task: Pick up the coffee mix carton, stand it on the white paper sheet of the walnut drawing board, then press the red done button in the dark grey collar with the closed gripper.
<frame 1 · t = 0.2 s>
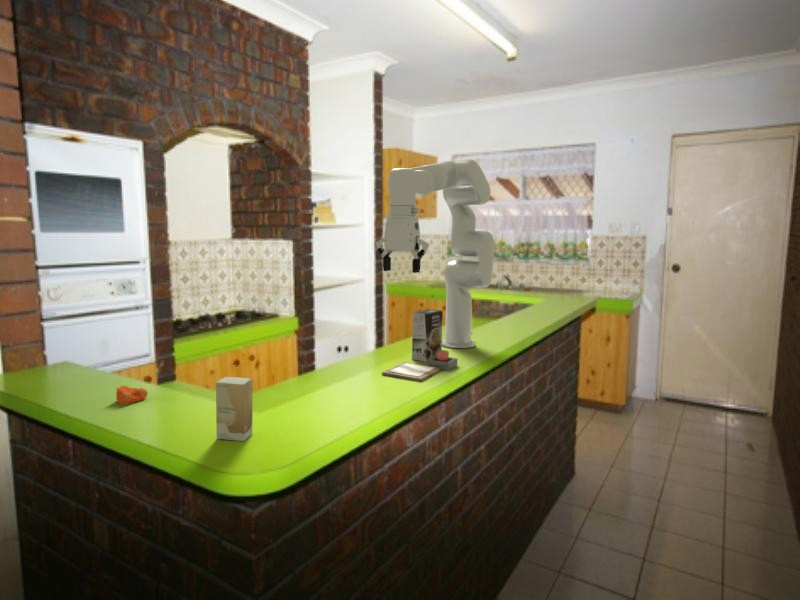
hand: (401, 271, 154), 31 cm above the table, tool pointing down, fingers open, 9 cm apart
done button: (442, 356, 166), point 3 cm above the table, slide at 0.0 cm
rock: (132, 403, 131), on the table
coffee box: (426, 358, 176), on the table
board: (412, 372, 159), on the table
skincare box: (235, 437, 110), on the table
button collar: (442, 366, 166), on the table
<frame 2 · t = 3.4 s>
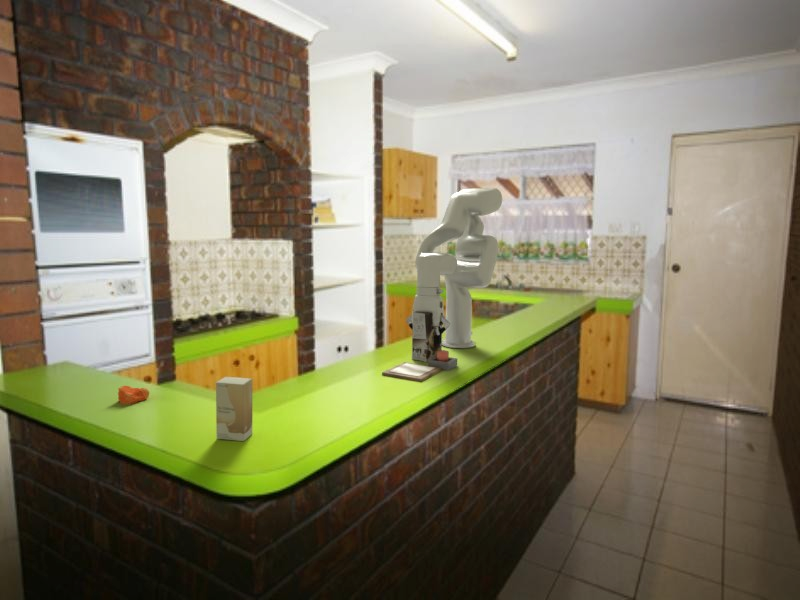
hand: (427, 344, 176), 5 cm above the table, tool pointing down, fingers closed on coffee box, 6 cm apart
coffee box: (426, 358, 176), on the table, touching gripper
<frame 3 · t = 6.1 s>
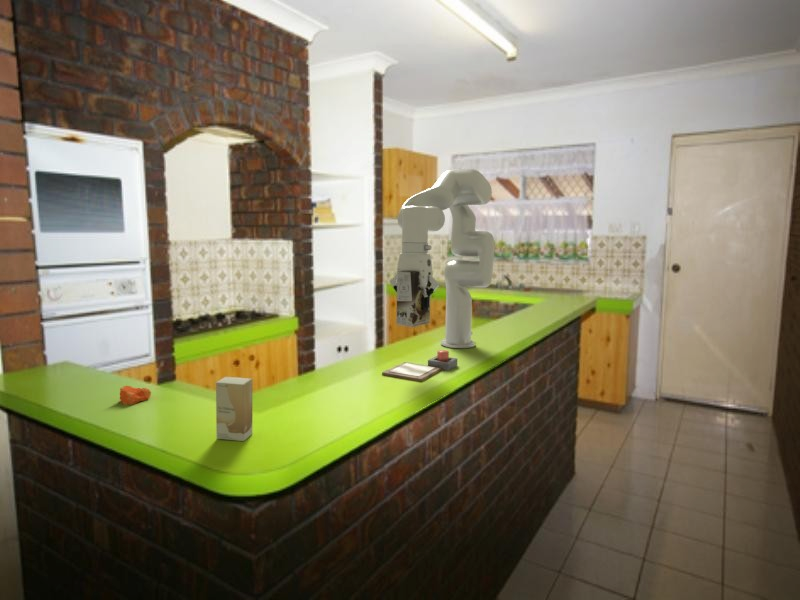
hand: (413, 308, 156), 20 cm above the table, tool pointing down, fingers closed on coffee box, 6 cm apart
coffee box: (413, 324, 157), point 15 cm above the table, touching gripper
when the fingers open (7 cm above the table, at t = 8.9 s): coffee box drops 1 cm, resting on board.
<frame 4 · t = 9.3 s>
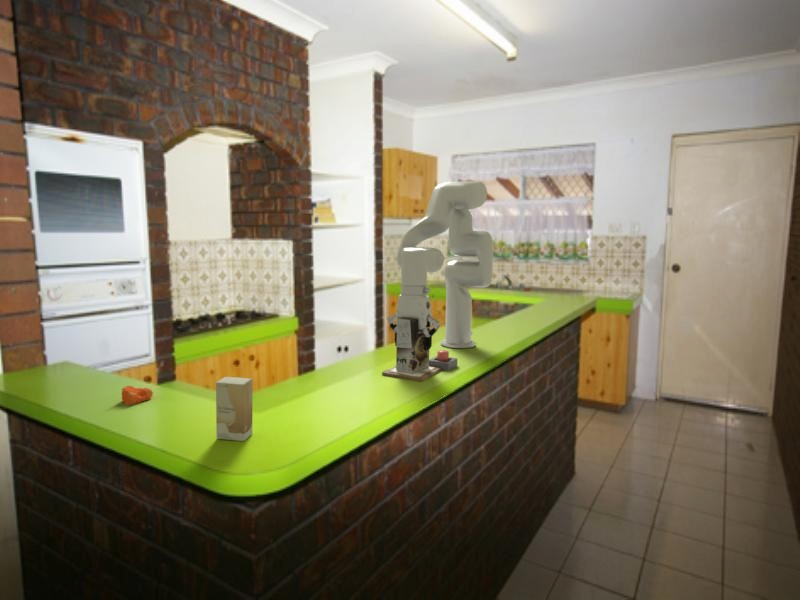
hand: (412, 347, 158), 8 cm above the table, tool pointing down, fingers open, 9 cm apart
coffee box: (412, 369, 159), point 1 cm above the table, touching board
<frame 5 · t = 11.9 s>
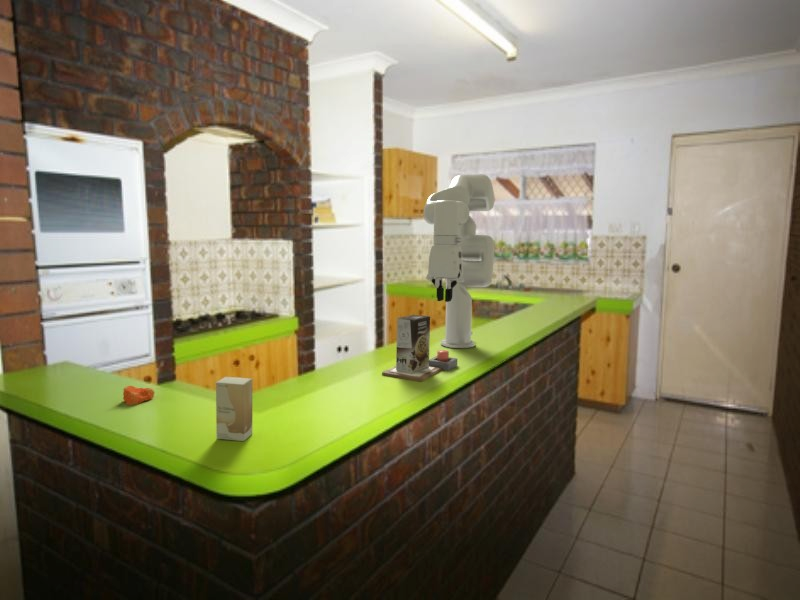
hand: (444, 300, 163), 21 cm above the table, tool pointing down, fingers closed
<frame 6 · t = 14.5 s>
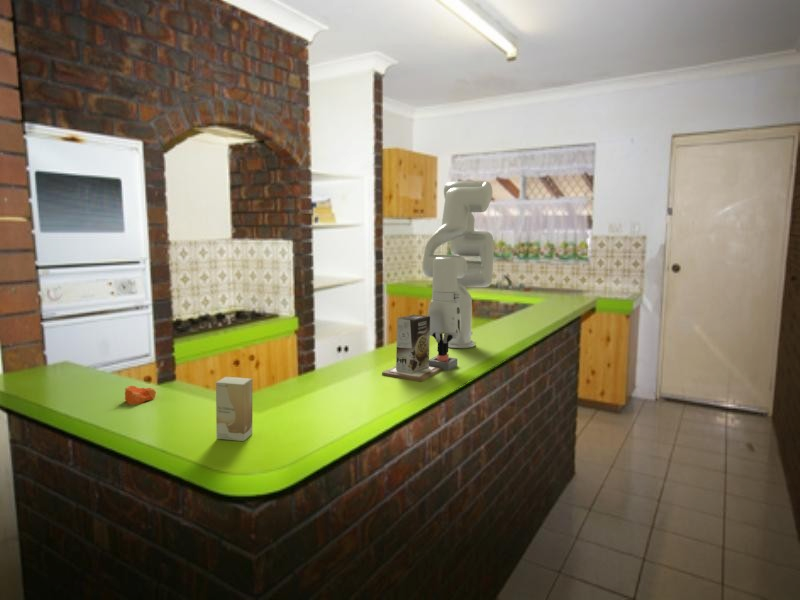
hand: (442, 354, 165), 4 cm above the table, tool pointing down, fingers closed
done button: (442, 359, 166), point 2 cm above the table, slide at 1.0 cm, touching gripper
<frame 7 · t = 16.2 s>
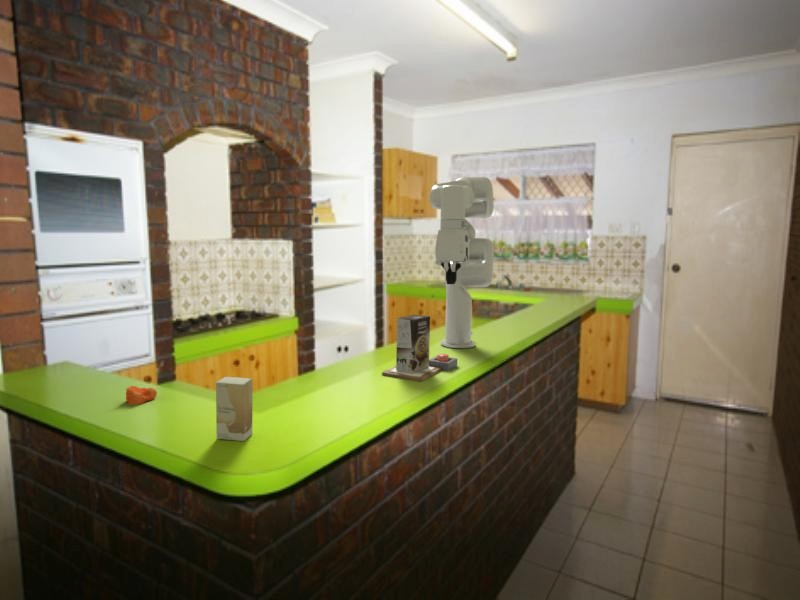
hand: (451, 283, 167), 26 cm above the table, tool pointing down, fingers closed
done button: (442, 360, 166), point 2 cm above the table, slide at 1.2 cm
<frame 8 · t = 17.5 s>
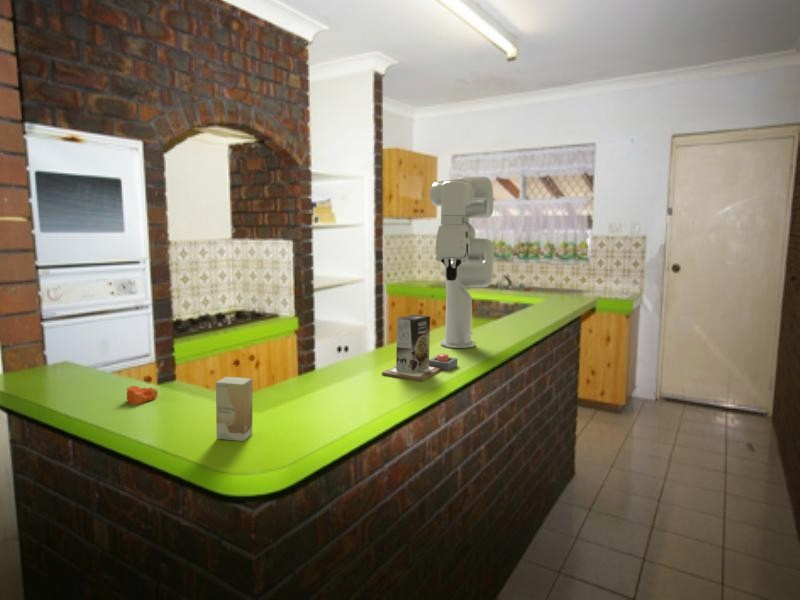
hand: (451, 280, 167), 27 cm above the table, tool pointing down, fingers closed
at the end: coffee box inside the target area on the board (0.2 cm from its centre), point 0.8 cm above the board's base; coffee box tilted 0°; done button slide at 1.2 cm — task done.
